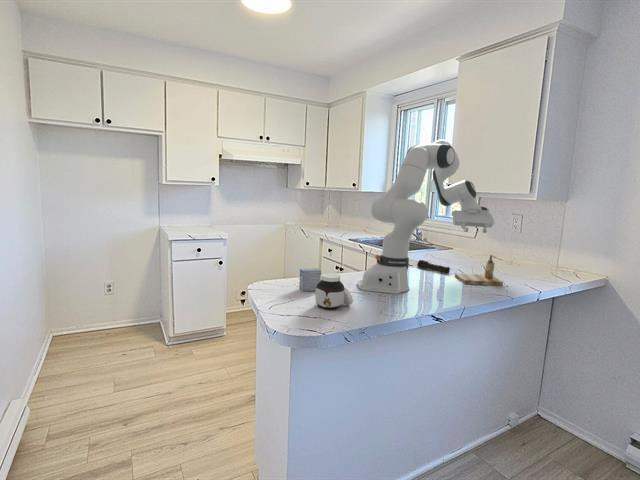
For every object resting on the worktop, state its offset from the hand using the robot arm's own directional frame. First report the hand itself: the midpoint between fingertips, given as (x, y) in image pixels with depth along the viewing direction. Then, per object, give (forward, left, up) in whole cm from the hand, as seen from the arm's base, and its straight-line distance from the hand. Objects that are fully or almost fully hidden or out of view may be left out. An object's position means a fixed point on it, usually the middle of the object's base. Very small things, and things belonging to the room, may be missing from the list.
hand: (475, 231), depth 184 cm
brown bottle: (+4, -11, -21) cm, 24 cm away
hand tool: (-18, +8, -23) cm, 31 cm away
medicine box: (-82, -39, -23) cm, 94 cm away
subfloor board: (-1, -11, -23) cm, 25 cm away
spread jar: (-72, -58, -23) cm, 95 cm away
